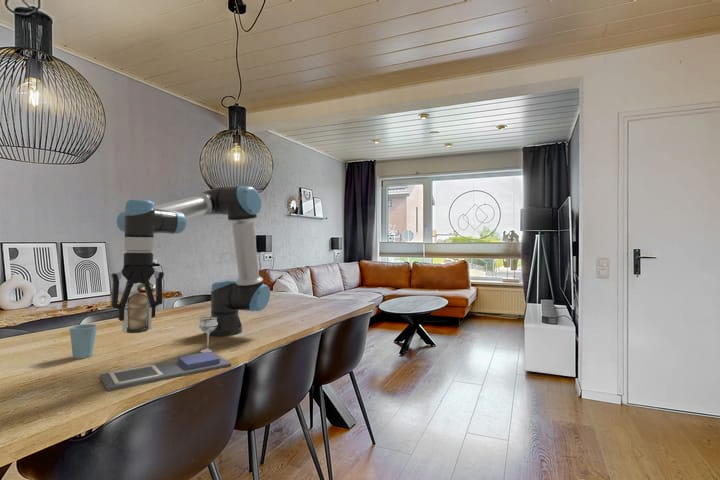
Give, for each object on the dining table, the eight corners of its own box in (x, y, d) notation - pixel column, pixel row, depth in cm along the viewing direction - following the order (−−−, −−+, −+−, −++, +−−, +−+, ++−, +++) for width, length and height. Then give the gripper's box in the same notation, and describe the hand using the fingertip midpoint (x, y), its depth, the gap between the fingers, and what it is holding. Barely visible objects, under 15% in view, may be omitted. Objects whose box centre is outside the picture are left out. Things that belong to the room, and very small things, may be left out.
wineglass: (194, 350, 140) (195, 318, 140) (212, 347, 145) (212, 315, 145) (202, 354, 135) (203, 321, 135) (220, 350, 140) (221, 318, 140)
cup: (83, 352, 135) (84, 323, 135) (101, 354, 134) (102, 324, 134) (63, 358, 128) (63, 328, 128) (82, 360, 127) (83, 329, 127)
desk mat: (215, 355, 134) (215, 348, 134) (231, 365, 124) (231, 358, 124) (100, 376, 112) (100, 368, 112) (107, 390, 101) (107, 381, 101)
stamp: (145, 328, 116) (146, 291, 116) (149, 331, 112) (150, 293, 112) (124, 330, 112) (125, 292, 112) (127, 334, 108) (128, 295, 108)
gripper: (169, 251, 121) (167, 324, 121) (99, 251, 109) (97, 332, 109) (175, 252, 115) (174, 328, 115) (103, 252, 103) (101, 337, 103)
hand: (136, 329), depth 112 cm, fingers closed on stamp, 6 cm apart
